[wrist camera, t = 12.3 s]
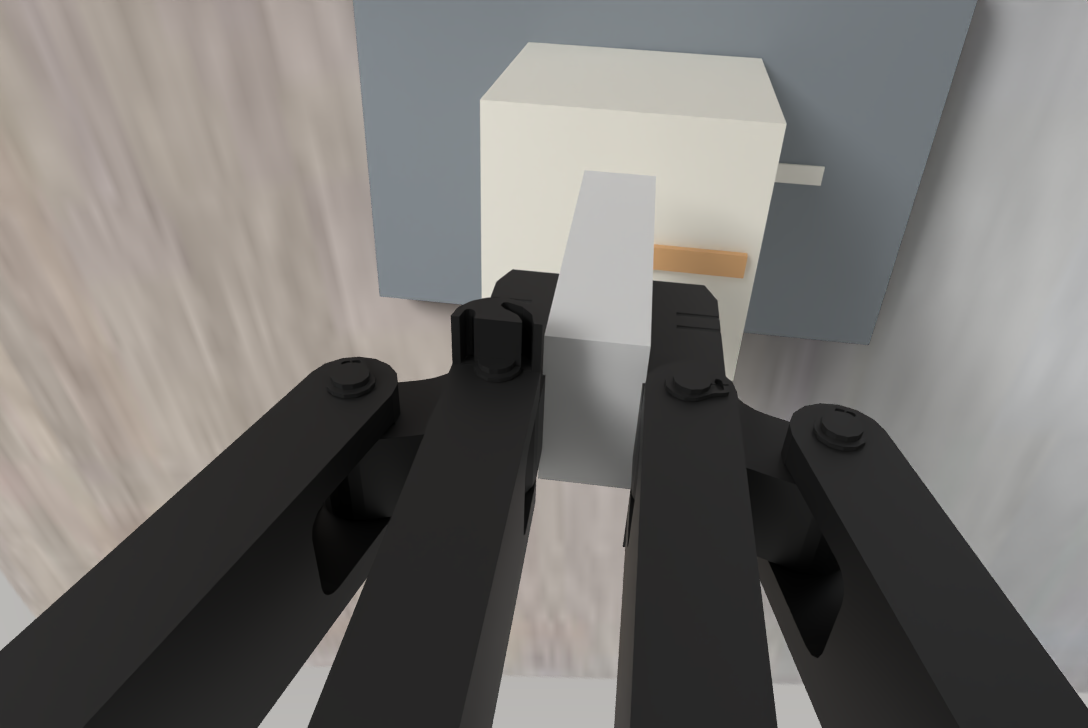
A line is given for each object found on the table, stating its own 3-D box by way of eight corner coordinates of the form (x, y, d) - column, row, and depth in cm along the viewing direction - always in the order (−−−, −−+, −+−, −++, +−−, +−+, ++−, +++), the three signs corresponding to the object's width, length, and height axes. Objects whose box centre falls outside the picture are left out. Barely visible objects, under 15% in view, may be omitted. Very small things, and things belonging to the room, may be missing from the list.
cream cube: (528, 42, 24) (478, 102, 18) (761, 58, 23) (787, 126, 17) (523, 251, 28) (480, 356, 22) (722, 271, 27) (733, 385, 21)
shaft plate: (364, -69, 24) (292, -51, 20) (968, -35, 22) (1045, -7, 18) (391, 278, 31) (342, 352, 26) (860, 324, 29) (895, 411, 24)
